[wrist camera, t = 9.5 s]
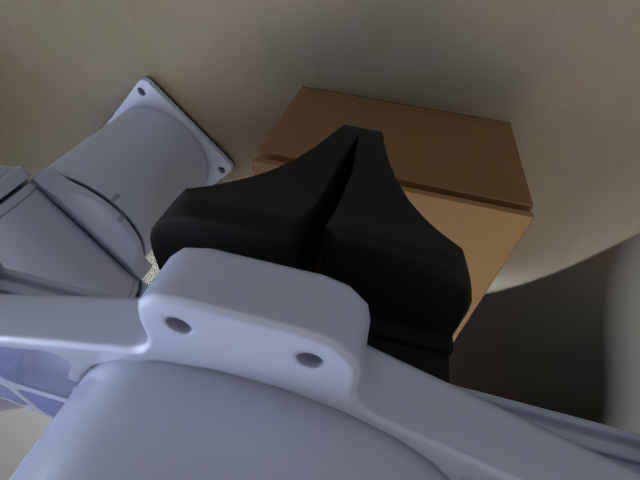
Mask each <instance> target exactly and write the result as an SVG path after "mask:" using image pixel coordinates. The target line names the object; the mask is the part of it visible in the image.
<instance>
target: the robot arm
mask: <svg viewBox="0 0 640 480" xmlns="http://www.w3.org/2000/svg"><path fill="white" fill-rule="evenodd" d="M141 88H142V89H144V91H145V93H144V92H143V91H142V89H141ZM221 167H222V168H224V170H222V169H221ZM233 168H234V164H233V162H232V161H231V160H230V159H229V158H228V157H227V156H226V155H225V154H224V153H223V152H222V151H221V150H220V149H219V148H218V147H217V146H216V145H215V144H214V143H213V142H212V141H211V140H210V139H209V138H208V137H207V136H206V135H205V134H204V133H203V132H202V131H201V130H200V129H199V128H198V127H197V126H196V125H195V124H194V123H193V122H192V121H191V120H190V119H189V118H188V117H187V116H186V115H185V114H184V113H183V112H182V111H181V110H180V109H179V108H178V107H177V106H176V105H175V104H174V103H173V102H172V101H171V100H170V98H169V97H168V96H167V95H166V94H165V93H164V92H163V91H162V90H161V89H160V88H159V87H158V86H157V85H156V84H155V83H154V82H153V81H152V80H150V79H149V78H147V77H143V78H142V79H140V80H139V81H138V82H137V84H136V85H135V86H134V88H133V89H132V90H131V92H130V93H129V94H128V96H127V97H126V98H125V100H124V101H123V102H122V104H121V105H120V106H119V108H118V109H117V110H116V112H115V113H114V114H113V116H112V117H111V118H110V120H109V121H108V122H107V124H106V125H105V126H104V127H102V128H101V129H99V130H98V131H97V132H95V133H94V134H92V135H91V136H90V137H88V138H87V139H85V140H84V141H82V142H81V143H80V144H78V145H77V146H75V147H74V148H73V149H71V150H70V151H68V152H67V153H66V154H64V155H63V156H61V157H60V158H58V159H57V160H56V161H54V162H53V163H51V164H50V165H49V166H47V167H46V168H44V169H43V170H42V171H40V172H38V173H37V174H35V175H33V176H31V177H29V176H30V174H29V173H28V172H27V171H26V170H25V169H24V168H22V167H21V166H16V167H12V166H5V165H0V411H4V410H11V409H17V408H24V407H26V408H29V409H31V410H34V411H36V412H38V413H41V414H44V415H46V416H49V417H51V418H54V419H53V420H52V421H51V423H50V424H49V426H48V427H47V428H46V430H45V431H44V432H43V434H42V435H41V436H40V438H39V439H38V441H37V442H36V443H35V445H34V446H33V447H32V449H31V450H30V451H29V453H28V454H27V456H26V457H25V458H24V460H23V461H22V462H21V464H20V465H19V467H18V468H17V469H16V471H15V472H14V473H13V475H12V476H11V477H10V479H9V480H640V434H638V433H634V432H631V431H627V430H623V429H619V428H615V427H611V426H607V425H604V424H600V423H596V422H592V421H588V420H585V419H581V418H577V417H573V416H569V415H565V414H562V413H558V412H554V411H550V410H547V409H543V408H539V407H535V406H531V405H527V404H523V403H520V402H516V401H512V400H508V399H504V398H501V397H497V396H493V395H489V394H485V393H482V392H478V391H474V390H470V389H466V388H462V387H458V386H455V385H451V384H449V355H451V353H452V351H453V334H454V333H455V331H456V330H457V328H458V327H459V325H460V323H461V322H462V320H463V319H464V317H465V316H466V314H467V312H468V310H469V308H470V305H471V302H472V287H471V280H470V275H469V270H468V266H467V263H466V259H465V255H464V252H463V249H462V248H461V247H459V246H458V245H457V244H455V243H454V242H453V241H451V240H450V239H449V238H447V237H446V236H445V235H443V234H442V233H441V232H439V231H438V230H437V229H436V228H435V227H434V226H433V225H432V224H430V223H429V222H428V221H427V220H426V219H425V218H424V217H423V216H422V215H421V214H420V213H419V211H418V210H417V209H416V208H415V207H414V205H413V204H412V203H411V202H410V200H409V199H408V198H407V196H406V195H405V193H404V191H403V190H402V188H401V186H400V184H399V183H398V181H397V179H396V176H395V174H394V172H393V170H392V167H391V165H390V162H389V159H388V156H387V153H386V149H385V145H384V135H383V133H382V132H381V131H376V130H371V129H365V128H360V127H354V126H349V125H343V126H341V127H340V128H338V129H337V130H336V131H335V132H333V133H332V134H331V135H330V136H328V137H327V138H326V139H325V140H323V141H322V142H320V143H319V144H318V145H316V146H315V147H314V148H312V149H311V150H309V151H307V152H306V153H304V154H303V155H301V156H299V157H298V158H296V159H294V160H292V161H290V162H288V163H286V164H284V165H282V166H280V167H277V168H275V169H273V170H270V171H267V172H264V173H261V174H258V175H255V176H252V177H249V178H245V179H241V180H237V181H233V182H228V183H223V184H218V185H214V184H216V183H217V182H218V181H220V180H221V179H222V178H223V177H225V176H226V175H227V174H229V173H230V172H231V171H232V170H233ZM28 177H29V178H28ZM151 250H153V253H154V256H155V258H156V261H157V264H158V267H159V269H160V272H159V273H158V274H157V276H156V277H155V278H154V280H153V281H152V282H151V284H150V285H149V286H148V285H147V284H146V283H145V282H144V281H143V280H142V279H143V278H144V276H145V275H146V274H147V272H148V271H149V270H150V269H151V267H152V265H151V263H150V262H149V261H148V260H147V259H146V256H147V255H148V254H149V253H150V251H151Z"/></svg>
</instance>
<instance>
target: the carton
mask: <svg viewBox="0 0 640 480" xmlns="http://www.w3.org/2000/svg"><path fill="white" fill-rule="evenodd" d="M343 125H349V126H354V127H360V128H365V129H371V130H376V131H381V132H382V133H383V135H384V145H385V149H386V153H387V156H388V159H389V162H390V165H391V167H392V170H393V172H394V174H395V176H396V179H397V181H398V183H399V184H400V186H404V187H409V188H414V189H419V190H423V191H428V192H433V193H438V194H443V195H448V196H453V197H458V198H463V199H468V200H473V201H477V202H482V203H487V204H492V205H497V206H502V207H507V208H512V209H517V210H522V211H527V212H530V210H531V209H532V207H533V203H532V199H531V196H530V192H529V189H528V185H527V181H526V178H525V174H524V171H523V167H522V163H521V160H520V156H519V153H518V149H517V145H516V142H515V138H514V135H513V131H512V128H511V124H510V123H505V122H499V121H493V120H488V119H482V118H476V117H470V116H465V115H459V114H453V113H448V112H442V111H436V110H431V109H425V108H419V107H414V106H408V105H402V104H396V103H391V102H385V101H379V100H374V99H368V98H362V97H357V96H351V95H345V94H340V93H334V92H328V91H323V90H317V89H311V88H305V87H302V88H301V90H300V91H299V92H298V94H297V95H296V97H295V98H294V99H293V101H292V102H291V104H290V105H289V107H288V108H287V109H286V111H285V112H284V114H283V115H282V117H281V118H280V119H279V121H278V122H277V124H276V125H275V126H274V128H273V129H272V131H271V132H270V134H269V135H268V136H267V138H266V139H265V141H264V142H263V144H262V145H261V146H260V148H259V149H258V157H255V158H254V160H253V170H254V176H255V175H258V174H261V173H264V172H267V171H270V170H273V169H275V168H277V167H280V166H282V165H284V164H286V163H288V162H290V161H292V160H294V159H296V158H298V157H299V156H301V155H303V154H304V153H306V152H307V151H309V150H311V149H312V148H314V147H315V146H316V145H318V144H319V143H320V142H322V141H323V140H325V139H326V138H327V137H328V136H330V135H331V134H332V133H333V132H335V131H336V130H337V129H338V128H340V127H341V126H343Z"/></svg>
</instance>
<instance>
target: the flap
mask: <svg viewBox="0 0 640 480" xmlns="http://www.w3.org/2000/svg"><path fill="white" fill-rule="evenodd" d="M401 188H402V190H403V191H404V193H405V195H406V196H407V198H408V199H409V200H410V202H411V203H412V204H413V205H414V207H415V208H416V209H417V210H418V211H419V213H420V214H421V215H422V216H423V217H424V218H425V219H426V220H427V221H428V222H429V223H430V224H432V225H433V226H434V227H435V228H436V229H437V230H438V231H439V232H441V233H442V234H443V235H445V236H446V237H447V238H449V239H450V240H451V241H453V242H454V243H455V244H457V245H458V246H459V247H461V248H462V249H463V252H464V255H465V259H466V263H467V266H468V270H469V275H470V280H471V287H472V302H471V305H470V308H469V310H468V312H467V314H466V316H465V317H464V319H463V320H462V322H461V323H460V325H459V327H458V328H457V330H456V331H455V333H454V334H453V342H454V340H455V339H456V337H457V336H458V334H459V333H460V331H461V329H462V328H463V327H464V325H465V323H466V322H467V320H468V319H469V317H470V316H471V314H472V313H473V311H474V310H475V308H476V307H477V305H478V303H479V302H480V300H481V299H482V297H483V296H484V294H485V293H486V291H487V290H488V288H489V287H490V285H491V283H492V282H493V280H494V279H495V277H496V276H497V274H498V273H499V271H500V270H501V268H502V267H503V265H504V263H505V262H506V260H507V259H508V257H509V256H510V254H511V253H512V251H513V250H514V248H515V246H516V245H517V243H518V242H519V240H520V239H521V237H522V236H523V234H524V233H525V231H526V230H527V228H528V226H529V225H530V223H531V222H532V220H533V219H534V215H533V213H532V212H527V211H522V210H517V209H512V208H507V207H502V206H497V205H492V204H487V203H482V202H477V201H473V200H468V199H463V198H458V197H453V196H448V195H443V194H438V193H433V192H428V191H423V190H419V189H414V188H409V187H404V186H401Z"/></svg>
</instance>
